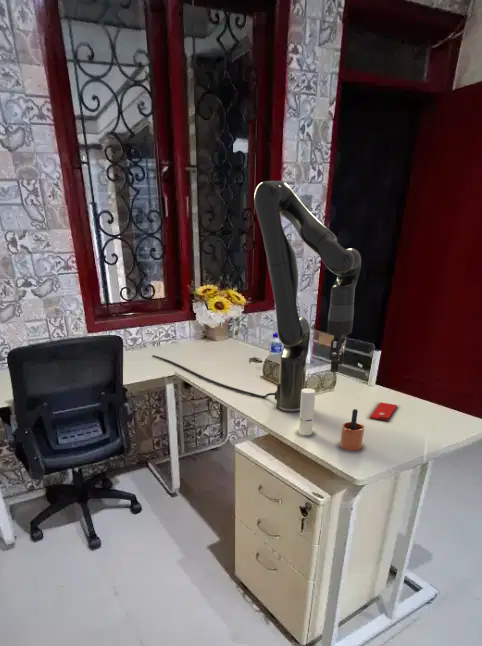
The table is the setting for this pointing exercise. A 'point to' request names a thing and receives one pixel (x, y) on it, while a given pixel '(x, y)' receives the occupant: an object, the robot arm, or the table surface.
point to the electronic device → (383, 411)
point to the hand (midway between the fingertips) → (336, 367)
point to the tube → (306, 411)
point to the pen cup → (351, 436)
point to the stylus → (353, 419)
